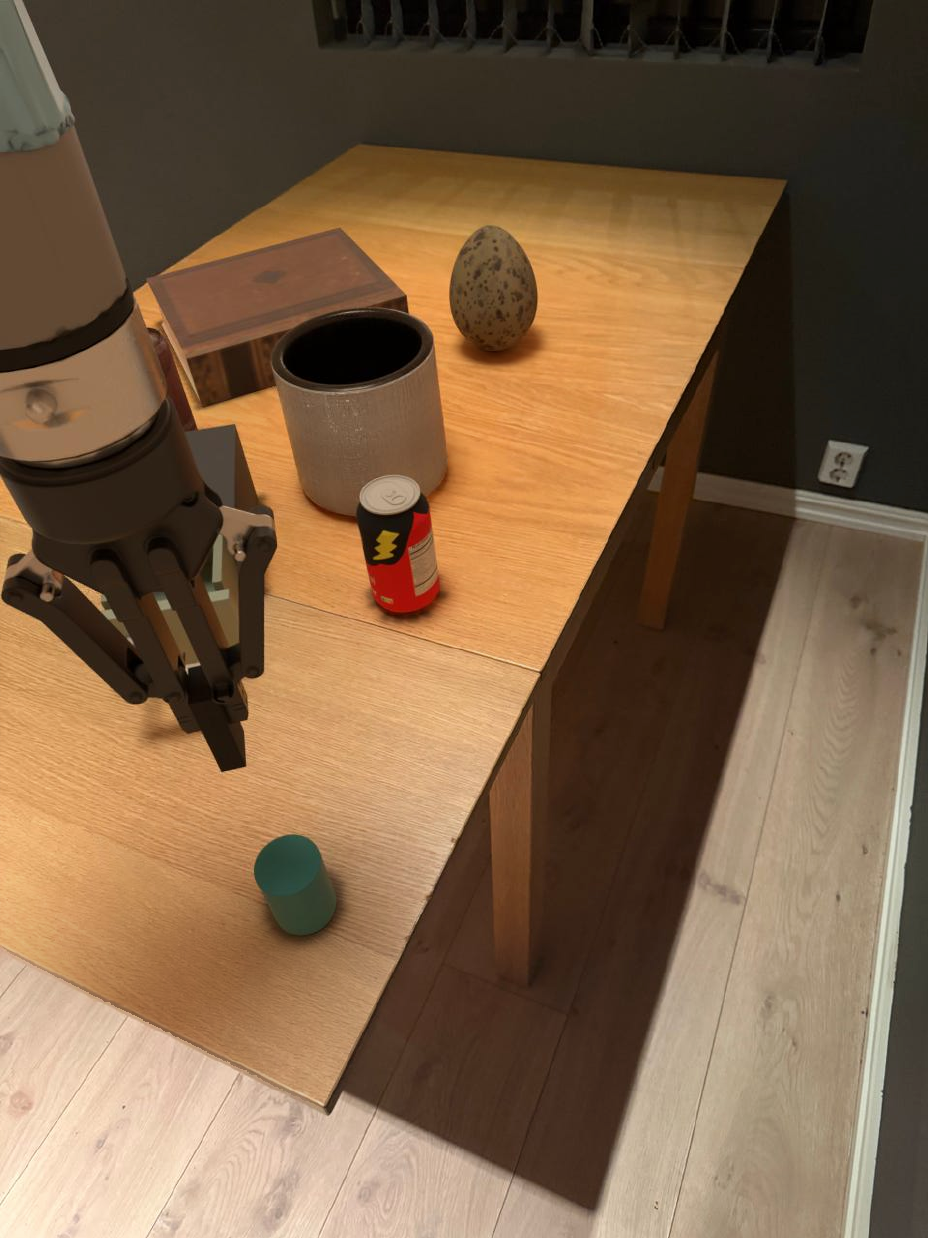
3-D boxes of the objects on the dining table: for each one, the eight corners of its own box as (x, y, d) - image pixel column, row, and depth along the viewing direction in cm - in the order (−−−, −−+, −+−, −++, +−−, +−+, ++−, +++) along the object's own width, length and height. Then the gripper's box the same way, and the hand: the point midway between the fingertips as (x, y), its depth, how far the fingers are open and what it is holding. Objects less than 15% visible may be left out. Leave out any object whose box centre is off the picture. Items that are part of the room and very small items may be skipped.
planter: (469, 444, 98) (458, 313, 87) (416, 535, 88) (396, 401, 77) (340, 424, 103) (314, 297, 92) (275, 509, 93) (237, 378, 82)
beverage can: (410, 562, 86) (394, 461, 77) (454, 593, 82) (442, 491, 74) (359, 596, 83) (337, 495, 74) (403, 629, 79) (384, 528, 71)
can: (158, 473, 99) (113, 361, 89) (143, 446, 103) (99, 335, 93) (210, 455, 100) (171, 343, 90) (193, 428, 104) (155, 318, 94)
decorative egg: (470, 320, 118) (462, 205, 107) (548, 329, 114) (548, 211, 104) (441, 362, 111) (429, 243, 100) (523, 373, 108) (520, 251, 97)
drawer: (253, 712, 73) (228, 649, 67) (114, 737, 72) (77, 676, 67) (251, 559, 86) (230, 496, 81) (134, 579, 85) (104, 517, 80)
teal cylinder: (275, 941, 60) (253, 902, 56) (273, 883, 63) (253, 841, 59) (339, 929, 60) (322, 888, 56) (334, 871, 64) (318, 828, 59)
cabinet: (260, 593, 84) (234, 515, 77) (127, 616, 83) (88, 539, 76) (258, 499, 94) (235, 423, 87) (139, 519, 93) (106, 444, 86)
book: (412, 342, 115) (406, 294, 110) (202, 406, 108) (186, 358, 103) (347, 271, 130) (340, 227, 126) (161, 323, 123) (145, 278, 119)
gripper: (-105, 506, 33) (121, 830, 50) (243, 439, 34) (347, 777, 51) (-67, 400, 38) (126, 727, 55) (234, 345, 39) (332, 681, 56)
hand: (232, 751), depth 53 cm, fingers closed
